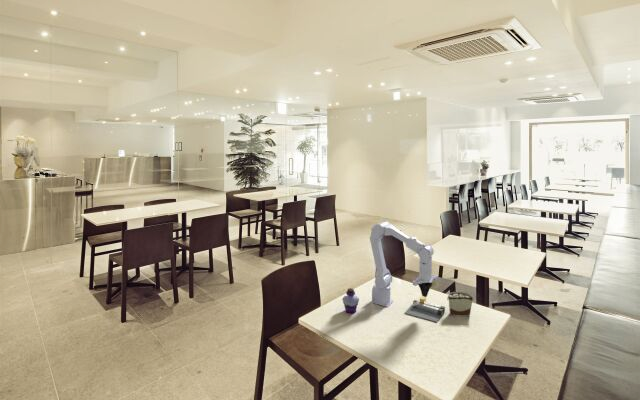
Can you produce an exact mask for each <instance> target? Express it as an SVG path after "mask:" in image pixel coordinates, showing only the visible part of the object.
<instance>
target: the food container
mask: <svg viewBox="0 0 640 400" xmlns="http://www.w3.org/2000/svg"><path fill="white" fill-rule="evenodd" d="M447 301H448V307H449V316H456V317H458V316H461V317H464V316H466V317H470V315H471V310H472V306H473V305H472V304H473V302H474V297H473V295H471V294H469V293H466V292H463V291H452V292H449V293H448V295H447Z"/></svg>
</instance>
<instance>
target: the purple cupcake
mask: <svg viewBox="0 0 640 400" xmlns="http://www.w3.org/2000/svg"><path fill="white" fill-rule="evenodd" d="M345 294H346V295H344V296H343V297H342V299H341V300H342V303H343V306H344V310H345V313H346V314H349V315H353V314H356V313H357V307H358V305H359V301H360V298H359V297H358V296H357V295H356V292H355V289H354V288H351V287H349V288H347V290H346V293H345Z"/></svg>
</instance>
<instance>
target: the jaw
mask: <svg viewBox="0 0 640 400" xmlns="http://www.w3.org/2000/svg"><path fill="white" fill-rule="evenodd" d="M416 300H417V299H414V300H413V301H412V304H413V308H418V309H421V310H424V311H428V312H431V313H434V314H437V315H440V316H441V317H442V316H443V314H444V313H443V309H440V308H436V307H433V306H429V305H426V304H422V303H419V302H418V301H416Z"/></svg>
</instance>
